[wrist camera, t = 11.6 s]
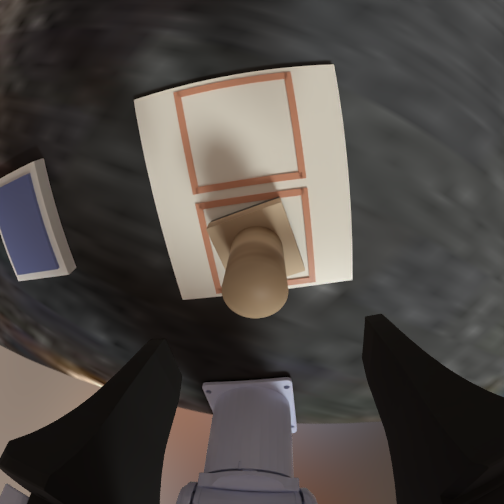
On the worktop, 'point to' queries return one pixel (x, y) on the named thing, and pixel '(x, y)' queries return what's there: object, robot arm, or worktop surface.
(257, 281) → the stamp
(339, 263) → the card sheet
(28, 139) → the worktop surface
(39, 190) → the ink pad
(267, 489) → the robot arm
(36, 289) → the worktop surface
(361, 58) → the worktop surface
